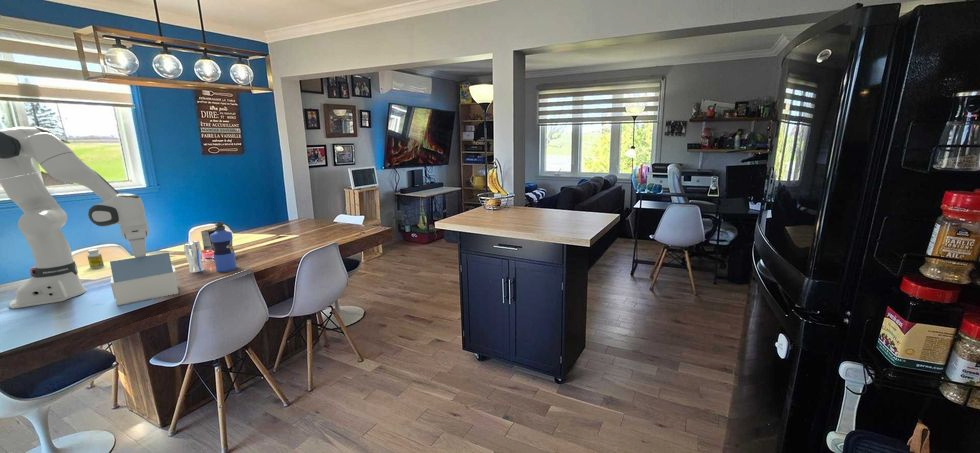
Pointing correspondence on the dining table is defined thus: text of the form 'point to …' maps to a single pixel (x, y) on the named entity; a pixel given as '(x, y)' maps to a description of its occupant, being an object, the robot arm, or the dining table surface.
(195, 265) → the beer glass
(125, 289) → the carton
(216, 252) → the water bottle
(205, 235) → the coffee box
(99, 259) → the supplement bottle
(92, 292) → the dining table surface
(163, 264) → the front flap
